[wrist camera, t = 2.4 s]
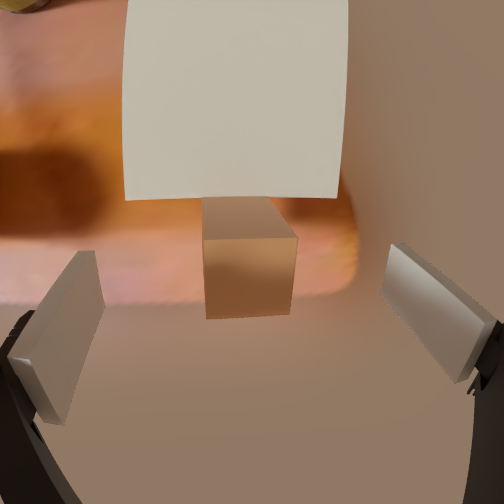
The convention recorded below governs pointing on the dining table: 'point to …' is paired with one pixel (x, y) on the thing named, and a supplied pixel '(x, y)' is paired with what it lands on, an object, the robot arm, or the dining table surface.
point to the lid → (236, 129)
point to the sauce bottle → (22, 5)
